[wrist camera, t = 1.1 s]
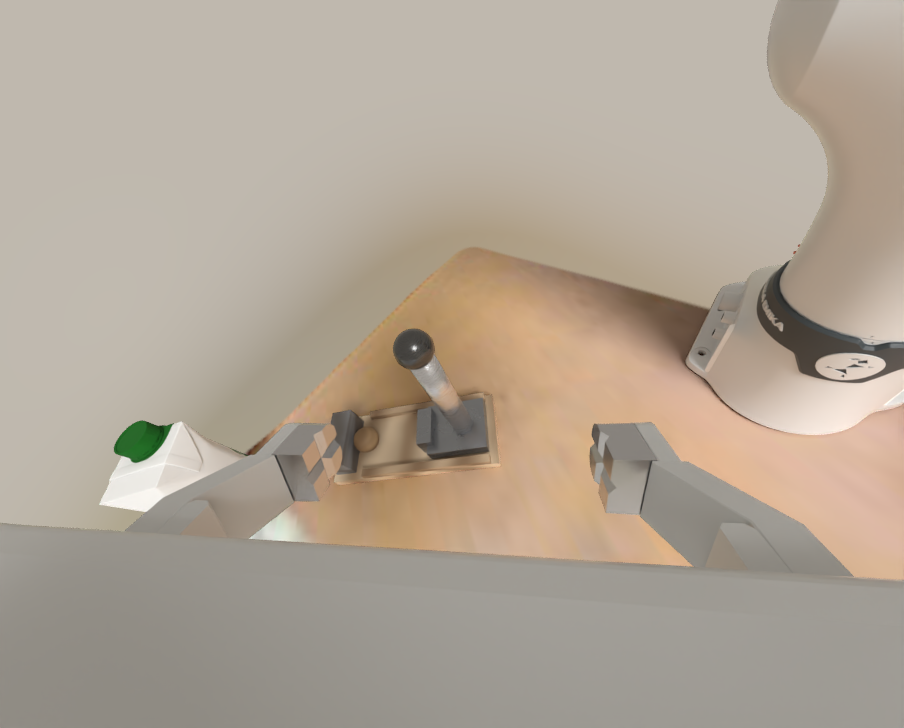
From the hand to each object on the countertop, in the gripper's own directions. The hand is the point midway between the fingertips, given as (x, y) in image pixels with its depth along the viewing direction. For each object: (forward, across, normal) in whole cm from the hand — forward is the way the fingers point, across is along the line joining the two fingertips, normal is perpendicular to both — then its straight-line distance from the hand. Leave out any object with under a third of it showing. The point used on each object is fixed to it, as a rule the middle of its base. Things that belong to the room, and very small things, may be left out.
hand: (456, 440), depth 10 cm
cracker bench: (+29, +11, +23) cm, 39 cm away
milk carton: (+24, +36, +31) cm, 53 cm away
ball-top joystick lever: (+28, +5, +21) cm, 35 cm away
